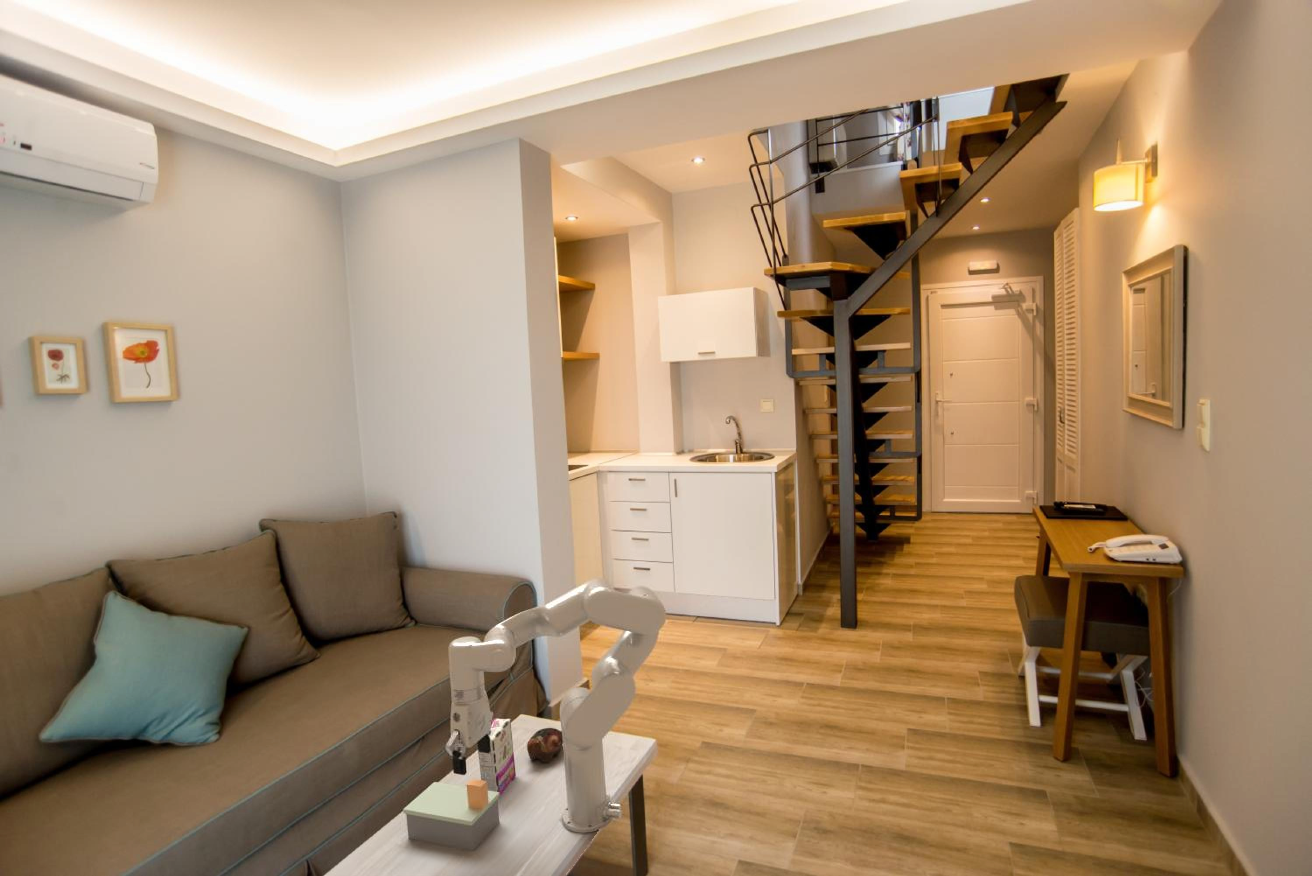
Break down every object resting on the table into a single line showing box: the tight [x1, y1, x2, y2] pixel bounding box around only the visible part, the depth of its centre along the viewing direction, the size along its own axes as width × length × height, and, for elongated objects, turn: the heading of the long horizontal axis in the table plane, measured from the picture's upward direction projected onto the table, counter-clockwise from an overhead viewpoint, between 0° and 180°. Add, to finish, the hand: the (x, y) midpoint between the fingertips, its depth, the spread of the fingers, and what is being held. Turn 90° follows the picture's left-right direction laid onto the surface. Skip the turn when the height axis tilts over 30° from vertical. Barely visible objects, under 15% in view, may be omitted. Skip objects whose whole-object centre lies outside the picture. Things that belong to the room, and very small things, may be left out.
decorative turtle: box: [526, 727, 563, 764], centre depth 198 cm, size 10×15×8 cm, turn 157°
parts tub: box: [405, 798, 500, 852], centre depth 165 cm, size 18×11×7 cm, turn 70°
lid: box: [402, 778, 501, 826], centre depth 165 cm, size 19×12×6 cm, turn 70°
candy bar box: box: [476, 717, 517, 796], centre depth 183 cm, size 11×5×16 cm, turn 168°
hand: (472, 762), depth 161 cm, fingers open, 9 cm apart
